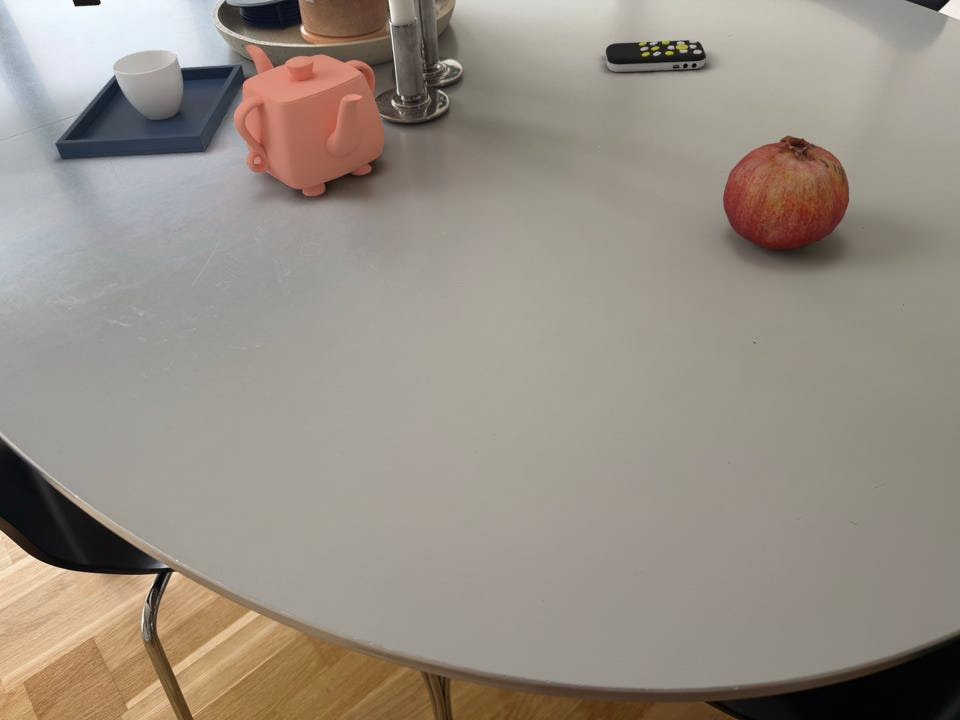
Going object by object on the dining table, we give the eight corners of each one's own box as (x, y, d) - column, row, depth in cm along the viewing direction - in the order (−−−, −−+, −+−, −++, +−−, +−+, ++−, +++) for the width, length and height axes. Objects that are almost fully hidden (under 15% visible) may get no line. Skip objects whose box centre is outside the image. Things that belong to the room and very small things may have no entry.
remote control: (604, 55, 112) (605, 41, 110) (699, 51, 111) (700, 36, 109) (607, 74, 107) (608, 59, 106) (706, 70, 106) (708, 54, 105)
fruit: (840, 220, 78) (867, 122, 72) (832, 279, 71) (860, 177, 65) (727, 204, 82) (742, 109, 75) (708, 258, 75) (723, 160, 68)
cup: (142, 132, 101) (123, 79, 97) (118, 107, 108) (99, 56, 103) (201, 113, 105) (185, 61, 100) (174, 89, 111) (158, 39, 106)
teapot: (378, 206, 86) (359, 89, 77) (228, 204, 88) (193, 91, 79) (404, 139, 97) (390, 31, 88) (270, 139, 99) (244, 34, 90)
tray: (204, 151, 98) (199, 135, 96) (61, 158, 99) (54, 143, 97) (245, 78, 114) (241, 64, 112) (122, 85, 115) (116, 71, 113)
